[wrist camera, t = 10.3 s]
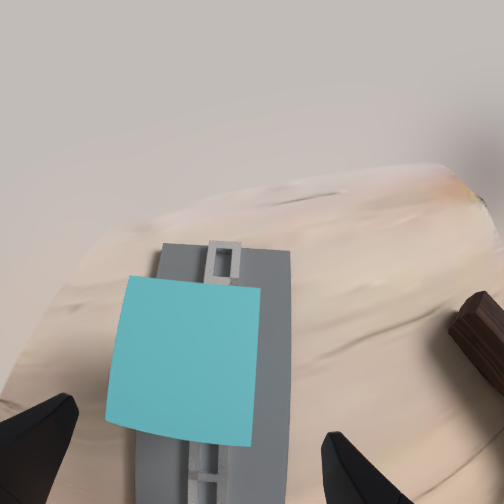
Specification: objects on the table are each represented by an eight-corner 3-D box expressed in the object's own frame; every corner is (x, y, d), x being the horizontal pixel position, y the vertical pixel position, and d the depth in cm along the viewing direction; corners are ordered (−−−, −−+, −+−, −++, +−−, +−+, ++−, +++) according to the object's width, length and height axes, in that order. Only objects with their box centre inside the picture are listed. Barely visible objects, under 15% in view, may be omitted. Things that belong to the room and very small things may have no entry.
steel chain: (225, 541, 10) (224, 546, 9) (190, 537, 10) (188, 542, 9) (241, 247, 21) (241, 242, 21) (210, 246, 21) (209, 240, 21)
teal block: (242, 415, 15) (250, 446, 6) (180, 408, 15) (104, 420, 6) (246, 350, 17) (260, 288, 8) (187, 344, 17) (129, 275, 8)
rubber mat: (278, 545, 10) (280, 551, 9) (142, 531, 10) (138, 536, 9) (287, 257, 22) (290, 251, 21) (165, 249, 22) (163, 243, 21)
